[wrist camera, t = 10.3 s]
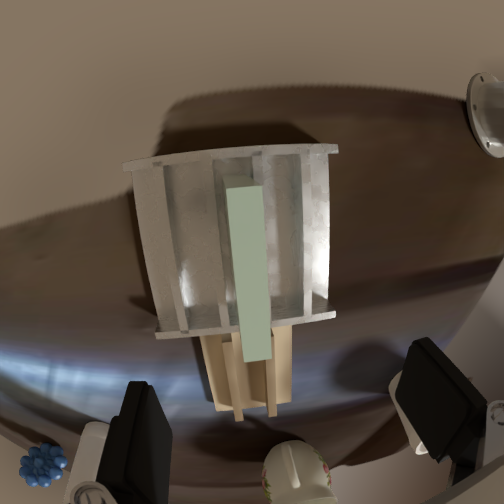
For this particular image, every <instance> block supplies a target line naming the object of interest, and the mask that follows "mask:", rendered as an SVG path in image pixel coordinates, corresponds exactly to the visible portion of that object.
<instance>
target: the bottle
mask: <svg viewBox="0 0 504 504" xmlns="http://www.w3.org/2000/svg"><path fill="white" fill-rule="evenodd" d="M109 426H110V425H109V424H106V423H104V422H97V421H95V422H89V423H87V424H86V425H85V428H84V430H83V432H82V435H81V439H80V444H79V447H78V450H77V453H76V456H75V460H74V463H73V467H72V470H71V474H70V477H69V481H68V485H67V489H66V492H65V496H64V500H63V504H68V503H70V494H71V491H72V490H73V488H74V487H75V486H76V485H78V484H79V483H81V482H85V481H94V482H95V480H96V476H97V472H98V467H99V463H100V459H101V455H102V452H103V448H104V444H105V440H106V437H107V433H108V429H109Z"/></svg>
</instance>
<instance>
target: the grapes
mask: <svg viewBox="0 0 504 504" xmlns="http://www.w3.org/2000/svg"><path fill="white" fill-rule="evenodd" d="M28 453H29V456H23V457H22V458H21V460H20V462H21V465H22V466H23V467H21V468H20V470H19V474H20V476H21V477H22V478H24V479H26V483H27V484H28V485H29V486H32V487H34V486H37V485H38V484H39V485H40V486H42V487H48V486H50V485H51V479H54V480H58V479H60V478H61V477H62V475H63V472H62V470H61V469H60V468H64V467H65V466H66V465H67V459H66V457H65V456H62V455H63V449H62V448H61V447H59V446H52V445H51V444H49V443H43V444H41V446H40V449H39V448H38V447H31V448H30V449H29V451H28Z"/></svg>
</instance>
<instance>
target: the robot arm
mask: <svg viewBox="0 0 504 504" xmlns="http://www.w3.org/2000/svg"><path fill="white" fill-rule="evenodd" d="M466 101H467V112H468V118H469V121H470V125H471V128H472V131H473V134H474V136H475V138H476V140H477V142H478V143H479V145H480V147H481V148H482V149H483V150H484V151H485V152H486V153H487V154H488V155H490V156H493V157H498V158H500V157H504V82H499V81H498V80H497V79H496V78H495V77H494V76H492V75H491V74H488V73H478V74H476V75H474V76H473V77H472V78H471V80H470V82H469V84H468V89H467V99H466ZM395 399H396V401H397V403H398V404H399V406H400V408H401V409H402V411H403V412H404V414H405V415H406V417H407V419H408V420H409V422H410V423H411V425H412V427H413V428H414V430H415V432H416V433H417V435H418V436H419V438H420V440H421V441H422V443H423V445H424V446H425V448H426V450H427V451H428V453H429V455H430V456H431V457H432V458H433V459H436V461H437V462H438V464H439V463H441V462H443V461H444V460H446V459H448V458H449V457H450V458H451V460H452V466H451V470H450V475H449V479H448V484H447V487H446V490H445V491H443V492H442V493H440V494H438V495H436V496H434V497H432V498H431V499H429V500H427V501H425V502H423V503H421V504H504V401H503V400H497V401H494V402H492V403H491V404H490V405H489V406H488V407H487V405H486V404H487V401H486V399H485V398H484V397H483V396H482V395H481V394H480V393H479V391H478V390H477V389H476V388H475V387H474V386H473V384H472V383H471V382H470V381H469V380H468V379H467V378H466V377H465V376H464V374H463V373H462V372H461V371H460V370H459V369H458V368H457V367H456V366H455V365H454V364H453V363H452V361H451V360H450V359H449V358H448V357H447V356H446V355H445V354H444V353H443V352H442V351H441V350H440V349H439V348H438V347H437V346H436V345H435V344H434V342H433V341H432V340H431V339H430V338H428V337H424V338H421V339H418V340H415V341H413V342H412V345H411V346H410V347H409V350H408V353H407V357H406V360H405V363H404V367H403V370H402V373H401V376H400V379H399V382H398V385H397V388H396V391H395ZM172 438H173V436H172V430H171V428H170V426H169V423H168V421H167V419H166V417H165V414H164V412H163V410H162V407H161V405H160V403H159V400H158V398H157V395H156V393H155V390H154V388H153V386H152V385H148V383H147V382H146V381H130V382H129V384H128V386H127V390H126V393H125V397H124V400H123V403H122V407H121V410H120V414H119V416H114V417H113V418H112V420H111V422H110V426H109V429H108V433H107V437H106V440H105V444H104V448H103V452H102V455H101V459H100V463H99V467H98V472H97V476H96V480H95V482H94V481H85V482H81V483H79V484H78V485H76V486H75V487H74V488H73V490H72V491H71V494H70V503H68V504H168V493H169V477H170V463H171V450H172Z"/></svg>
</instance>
